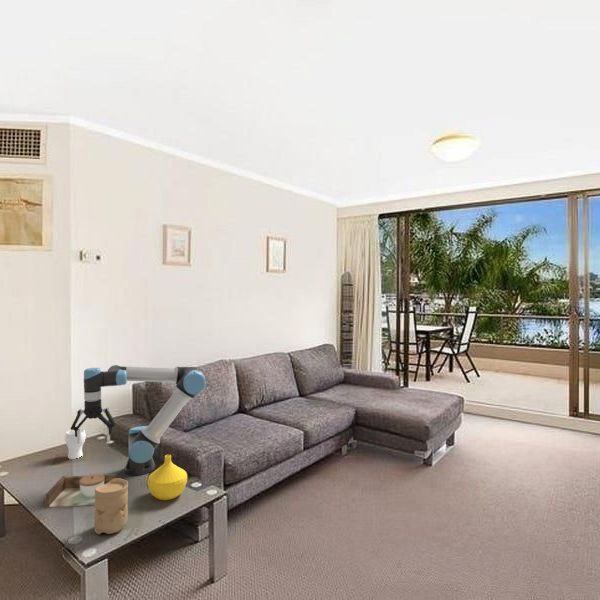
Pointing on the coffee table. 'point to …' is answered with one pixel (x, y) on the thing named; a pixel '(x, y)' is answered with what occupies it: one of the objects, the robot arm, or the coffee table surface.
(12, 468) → the coffee table surface
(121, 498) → the container
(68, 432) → the cup
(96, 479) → the lidded jar
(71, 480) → the walls
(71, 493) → the board
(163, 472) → the vase
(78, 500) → the pad
